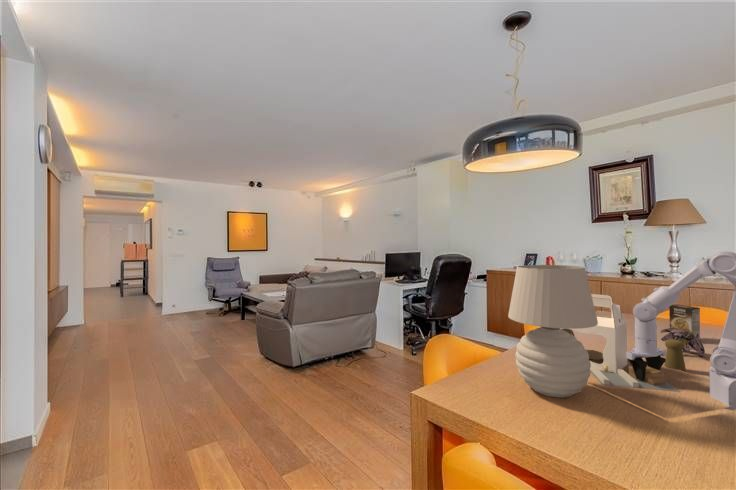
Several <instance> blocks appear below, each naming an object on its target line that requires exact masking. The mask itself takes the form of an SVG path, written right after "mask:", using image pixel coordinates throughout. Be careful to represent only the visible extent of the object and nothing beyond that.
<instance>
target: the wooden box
mask: <svg viewBox="0 0 736 490" xmlns="http://www.w3.org/2000/svg"><path fill="white" fill-rule="evenodd" d="M628 372H629V375H630V376H631V377H632V378H635V379H636V376H635V373H634V370H633V367H632V365H630V366H629V365H628ZM638 380H639V379H638ZM640 381H641V380H640ZM665 381H666V373H665V372H663V371H661V369H660V370H657V369H654V368H651V367H648V366H646V370H645V378H644V381H643V382H645V383H648V384H651V385H653V386H654V385H661V384H665Z"/></svg>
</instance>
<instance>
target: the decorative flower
mask: <svg viewBox="0 0 736 490" xmlns="http://www.w3.org/2000/svg"><path fill="white" fill-rule="evenodd" d="M670 332H672V333H670ZM660 333H667V334H665V335H664V336H662V338H661V339H660V340H661V341H662V342H665V341H666V340H668V339H674V340H679V341H681V342H683V344H684V349H683V350H682V352H684V351H685V352H690V351H695V352H697V353H698V355H699V357H700V358H703V357H705V354H706V352H705V351H706V350H705V347H704V345H703V343H702V341H701V339H700V340H699V339H698V338H697V337H695V336H694V335H693V333H692V332H690V331H684V330H681V329H676V328H670V327H669V328H664V329H662V330H661V331H660Z"/></svg>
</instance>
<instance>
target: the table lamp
mask: <svg viewBox="0 0 736 490" xmlns="http://www.w3.org/2000/svg"><path fill="white" fill-rule="evenodd" d="M590 287H591V286H590V283H589V280H588V274H587V272H586V267H584V266H580V265H563V264H561V265H560V264H527V265H517V266H516V270H515V277H514V282H513V287H512V292H511V297H510V303H509V309H508V315H507V316H508V319H510V320H511V321H514V322H516V323H519V324H524V325H529V326H535V328H534V329H531V330H529V331H528V332H526V334H524V335H523V336H521V338H520V341H519V342H518V343H517V344H516V351H515V365H516V367H517V369H518V374H519V375H520V376H521V378H523V381H524V382H525V384H527V385H528V386H529V387H531V388H532V389H533V391H535V392H537V393H539V394H541V395H544V396H547V397H550V398H560V399H562V398H569V397H571V396H573V395H575V394H577V393H579V392H581V391H582V389H583V388H584V387H585V386H587V384H588V381H589V378H590V376H591V372H590V371H591V370H590V367H591V363H590V361H591V360H590V359H589V353H588V352H587V350H588V349H586V348H585V346H584V344H583V343H582V342H581V341H580V340H578V338H577V337H576V336H575V335H574V336H573V335H572V334H569V333H568V332H566V331H564V330H561V329H560V328H563V329H579V328H589V327H594V326H596V325H597V324H598V321H597V316H598V315H597V312H596V309H595V306H594V304H593V300H592V295H591V294H592V292H591V288H590ZM589 360H590V361H589Z"/></svg>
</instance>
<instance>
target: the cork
mask: <svg viewBox="0 0 736 490" xmlns="http://www.w3.org/2000/svg"><path fill="white" fill-rule="evenodd" d="M664 345H665V347H666V356H665V359H666V361H665V362H664V367H665V368H668V369H672V370H676V371H681V372H685V373H686V372H687V368H686V363H685V359H684V351H683V349H684V344H683V342H681V341H679V340H674V339H668V340H666V341H664Z"/></svg>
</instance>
